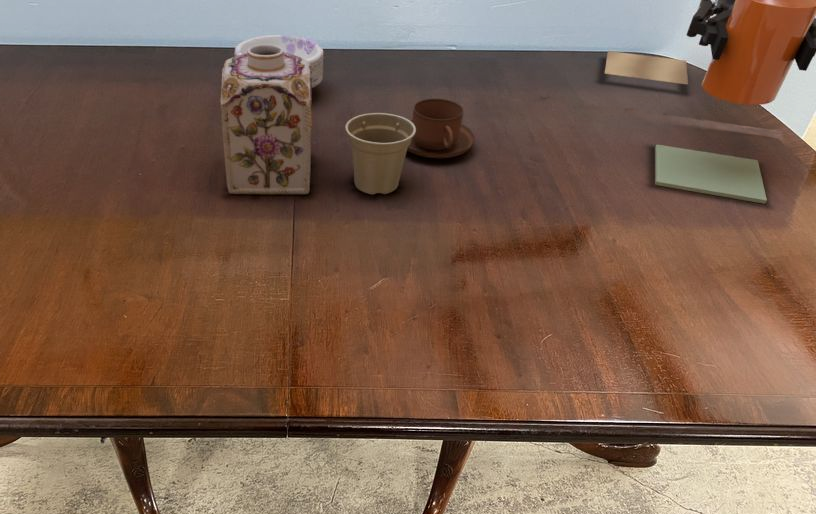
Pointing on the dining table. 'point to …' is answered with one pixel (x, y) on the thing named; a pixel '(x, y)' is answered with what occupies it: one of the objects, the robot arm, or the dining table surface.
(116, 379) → the dining table surface
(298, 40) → the white floral bowl
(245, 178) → the decorative jar
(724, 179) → the mat
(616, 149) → the dining table surface
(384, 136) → the flower pot
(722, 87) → the canister
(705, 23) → the robot arm
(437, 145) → the cup and saucer
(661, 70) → the board
